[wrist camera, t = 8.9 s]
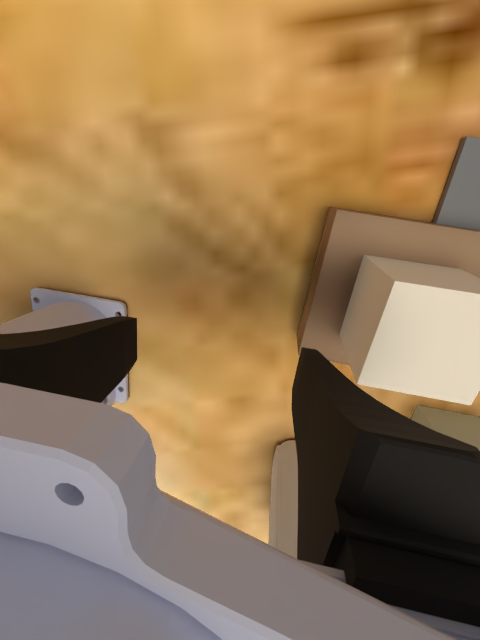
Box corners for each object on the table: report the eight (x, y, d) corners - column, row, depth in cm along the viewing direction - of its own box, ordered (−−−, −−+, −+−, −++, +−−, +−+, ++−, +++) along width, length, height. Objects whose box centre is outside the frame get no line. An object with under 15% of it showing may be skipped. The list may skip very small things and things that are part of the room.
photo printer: (313, 522, 28) (334, 738, 16) (269, 516, 28) (260, 721, 17) (322, 440, 24) (358, 640, 13) (272, 435, 25) (263, 623, 13)
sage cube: (457, 465, 23) (501, 527, 19) (395, 452, 24) (422, 510, 19) (484, 417, 22) (539, 472, 17) (416, 404, 22) (452, 454, 17)
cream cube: (422, 349, 17) (470, 405, 13) (339, 334, 18) (356, 384, 13) (460, 268, 15) (533, 302, 11) (363, 254, 15) (394, 281, 11)
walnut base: (419, 357, 21) (439, 383, 18) (296, 334, 21) (298, 354, 19) (482, 230, 17) (519, 238, 14) (329, 206, 17) (337, 209, 15)
